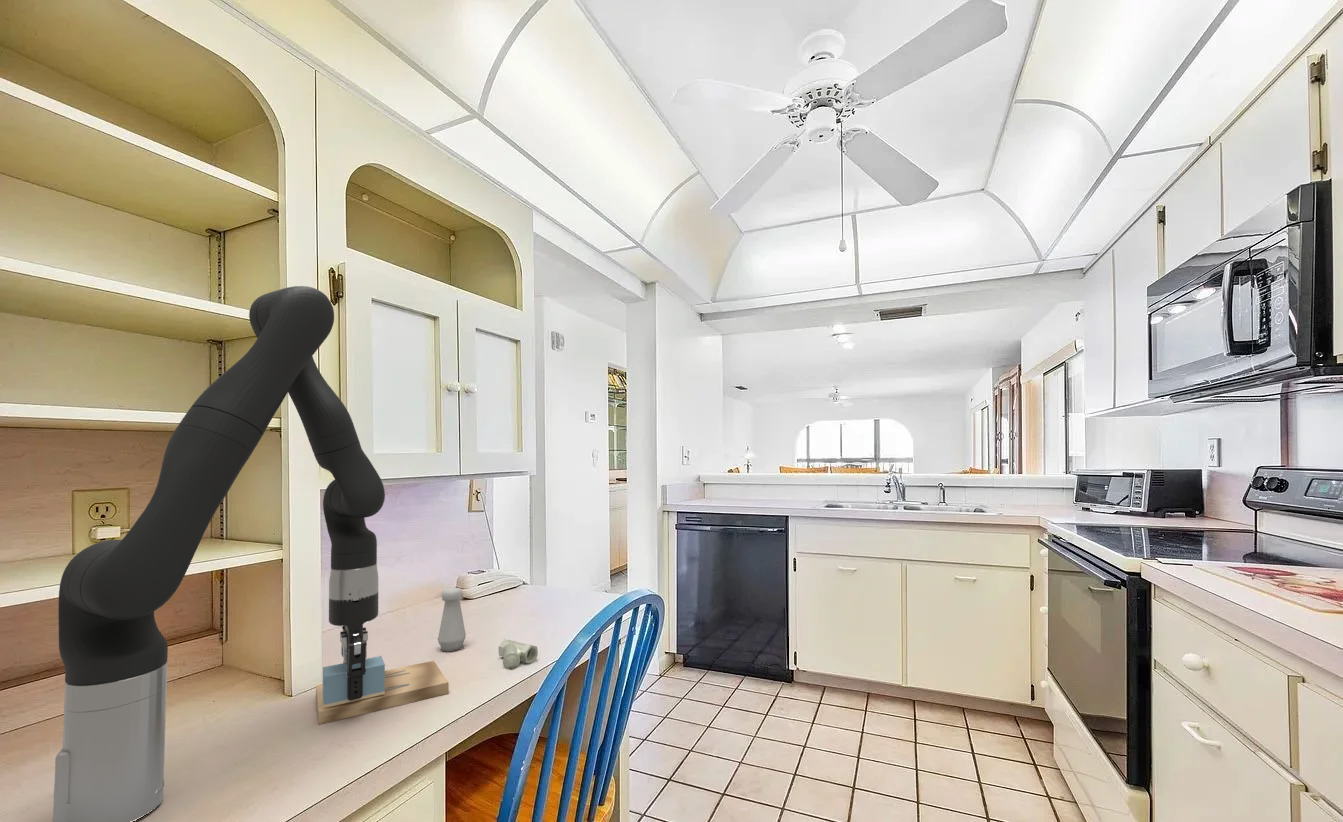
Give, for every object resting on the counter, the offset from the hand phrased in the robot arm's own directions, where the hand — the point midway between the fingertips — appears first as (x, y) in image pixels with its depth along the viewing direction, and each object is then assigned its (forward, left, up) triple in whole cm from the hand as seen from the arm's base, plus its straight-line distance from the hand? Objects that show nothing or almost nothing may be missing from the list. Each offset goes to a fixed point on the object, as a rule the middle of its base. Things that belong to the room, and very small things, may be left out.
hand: (353, 692), depth 99 cm
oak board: (+5, +3, -3) cm, 6 cm away
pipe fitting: (+29, +5, -3) cm, 30 cm away
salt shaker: (+21, +21, -3) cm, 30 cm away
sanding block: (0, 0, -1) cm, 1 cm away
